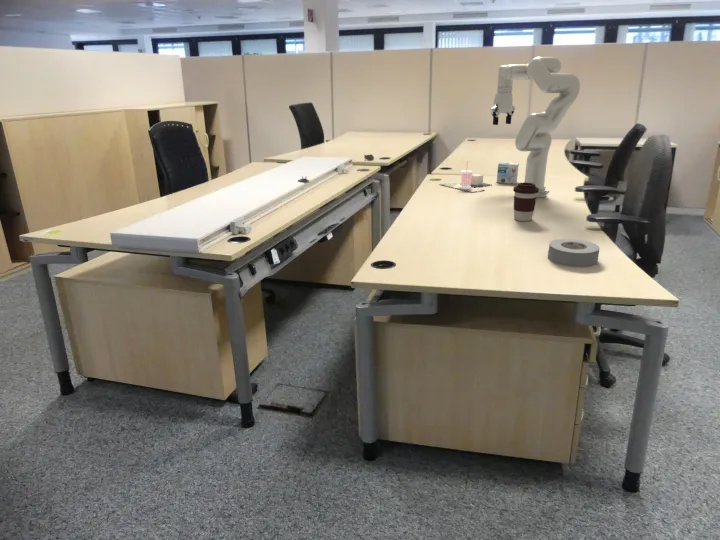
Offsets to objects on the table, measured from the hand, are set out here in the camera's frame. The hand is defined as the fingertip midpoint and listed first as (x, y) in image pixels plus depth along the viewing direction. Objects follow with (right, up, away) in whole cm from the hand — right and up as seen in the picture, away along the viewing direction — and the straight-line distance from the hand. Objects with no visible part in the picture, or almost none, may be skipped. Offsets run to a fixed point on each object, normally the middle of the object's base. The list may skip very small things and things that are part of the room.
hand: (501, 124), depth 284 cm
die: (-11, -30, +10) cm, 34 cm away
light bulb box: (+8, -28, +18) cm, 34 cm away
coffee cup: (-7, -57, -61) cm, 83 cm away
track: (-21, -33, +4) cm, 39 cm away
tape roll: (-6, -75, -109) cm, 132 cm away
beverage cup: (-19, -34, +1) cm, 39 cm away
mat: (-11, -31, +11) cm, 34 cm away
